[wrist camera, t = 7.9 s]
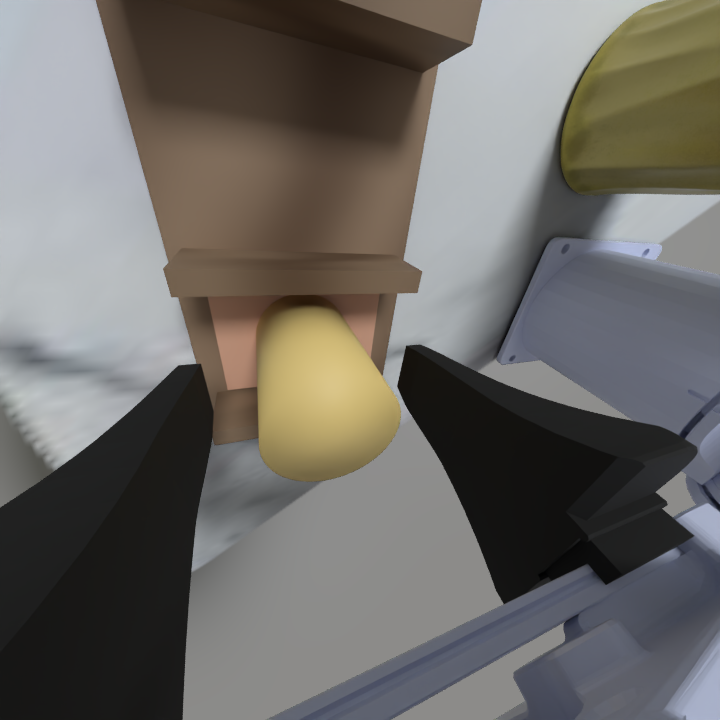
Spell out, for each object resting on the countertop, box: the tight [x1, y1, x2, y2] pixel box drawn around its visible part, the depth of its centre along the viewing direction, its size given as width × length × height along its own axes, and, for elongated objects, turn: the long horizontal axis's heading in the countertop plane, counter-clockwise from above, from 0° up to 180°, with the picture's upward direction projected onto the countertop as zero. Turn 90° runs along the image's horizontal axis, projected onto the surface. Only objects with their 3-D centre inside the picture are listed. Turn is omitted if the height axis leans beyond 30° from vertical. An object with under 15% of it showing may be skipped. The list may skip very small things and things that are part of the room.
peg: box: [256, 295, 401, 482], centre depth 10 cm, size 4×4×6 cm
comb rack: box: [96, 0, 482, 445], centre depth 10 cm, size 9×15×3 cm, turn 174°
